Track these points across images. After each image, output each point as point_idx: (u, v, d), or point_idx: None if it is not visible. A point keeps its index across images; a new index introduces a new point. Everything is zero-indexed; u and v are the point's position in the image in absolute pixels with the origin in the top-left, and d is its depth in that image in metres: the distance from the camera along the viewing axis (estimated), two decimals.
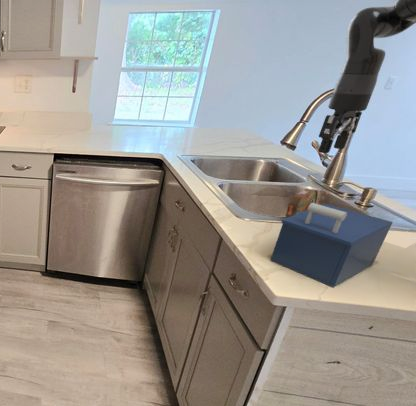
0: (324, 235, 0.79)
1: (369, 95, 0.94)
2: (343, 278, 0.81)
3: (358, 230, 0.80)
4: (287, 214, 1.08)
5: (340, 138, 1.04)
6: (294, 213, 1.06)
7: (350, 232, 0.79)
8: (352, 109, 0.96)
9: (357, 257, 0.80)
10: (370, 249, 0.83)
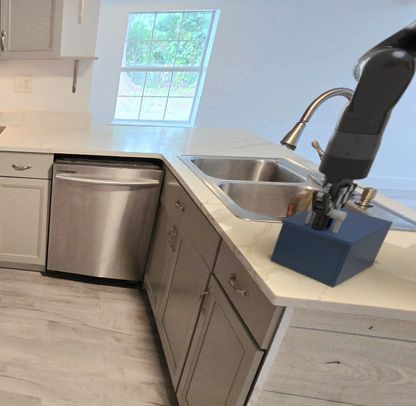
0: (324, 235, 0.79)
1: (371, 160, 0.72)
2: (343, 278, 0.81)
3: (358, 230, 0.80)
4: (287, 214, 1.08)
5: None
6: (294, 213, 1.06)
7: (350, 232, 0.79)
8: (349, 177, 0.73)
9: (357, 257, 0.80)
10: (370, 249, 0.83)
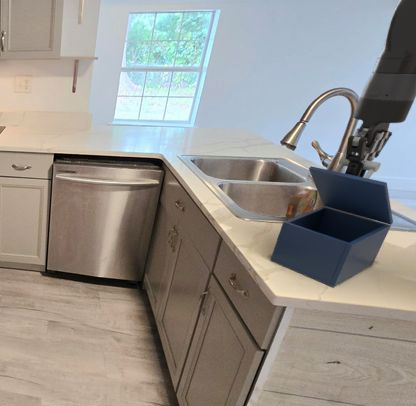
0: (356, 177, 0.76)
1: (411, 102, 0.70)
2: (343, 278, 0.81)
3: None
4: (287, 214, 1.08)
5: None
6: (294, 213, 1.06)
7: None
8: (387, 120, 0.72)
9: (357, 257, 0.80)
10: (370, 249, 0.83)
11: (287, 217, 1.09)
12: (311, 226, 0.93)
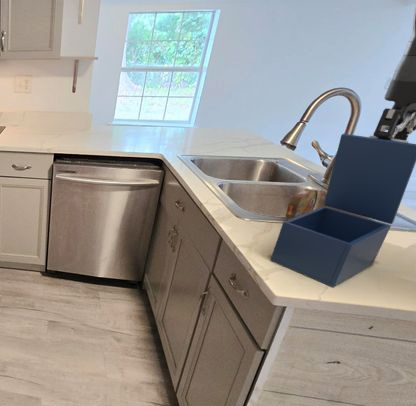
0: (391, 141, 0.77)
1: None
2: (343, 278, 0.81)
3: None
4: (287, 214, 1.08)
5: (397, 137, 0.84)
6: (294, 213, 1.06)
7: None
8: None
9: (357, 257, 0.80)
10: (370, 249, 0.83)
11: (287, 217, 1.09)
12: (311, 226, 0.93)
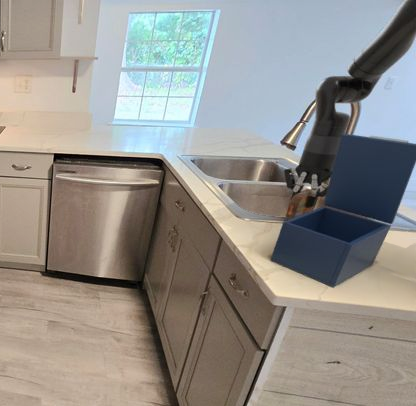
0: (391, 140, 0.77)
1: (311, 153, 1.03)
2: (343, 278, 0.81)
3: None
4: (287, 214, 1.08)
5: None
6: (294, 213, 1.06)
7: None
8: (300, 162, 1.07)
9: (357, 257, 0.80)
10: (370, 249, 0.83)
11: (287, 217, 1.09)
12: (311, 226, 0.93)
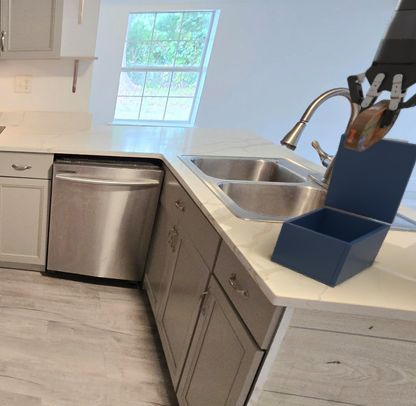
0: (391, 141, 0.77)
1: (396, 40, 0.69)
2: (343, 278, 0.81)
3: None
4: (346, 142, 0.76)
5: None
6: (357, 140, 0.74)
7: None
8: (374, 60, 0.73)
9: (357, 257, 0.80)
10: (370, 249, 0.83)
11: (346, 146, 0.77)
12: (311, 226, 0.93)
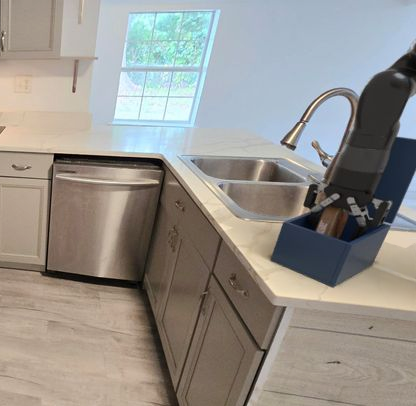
0: (398, 137, 0.78)
1: (347, 170, 0.78)
2: (343, 278, 0.81)
3: None
4: None
5: None
6: None
7: None
8: (330, 181, 0.82)
9: (357, 257, 0.80)
10: (370, 249, 0.83)
11: None
12: None
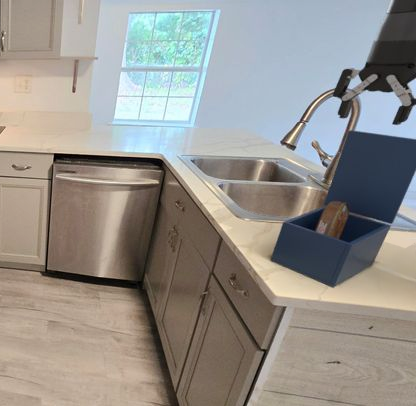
0: (398, 137, 0.78)
1: (388, 42, 0.71)
2: (343, 278, 0.81)
3: None
4: None
5: None
6: None
7: None
8: (367, 61, 0.75)
9: (357, 257, 0.80)
10: (370, 249, 0.83)
11: None
12: (311, 226, 0.93)
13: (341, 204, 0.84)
